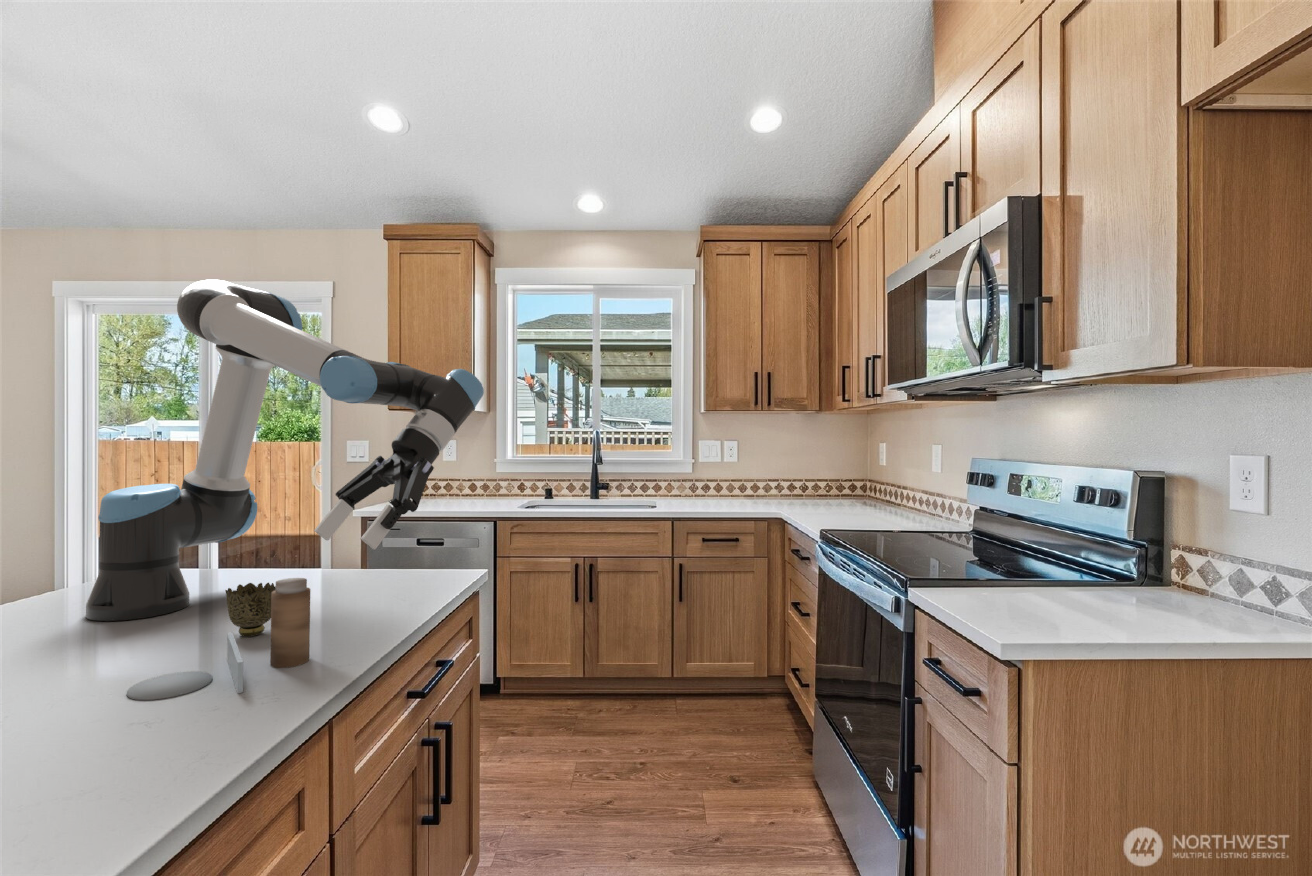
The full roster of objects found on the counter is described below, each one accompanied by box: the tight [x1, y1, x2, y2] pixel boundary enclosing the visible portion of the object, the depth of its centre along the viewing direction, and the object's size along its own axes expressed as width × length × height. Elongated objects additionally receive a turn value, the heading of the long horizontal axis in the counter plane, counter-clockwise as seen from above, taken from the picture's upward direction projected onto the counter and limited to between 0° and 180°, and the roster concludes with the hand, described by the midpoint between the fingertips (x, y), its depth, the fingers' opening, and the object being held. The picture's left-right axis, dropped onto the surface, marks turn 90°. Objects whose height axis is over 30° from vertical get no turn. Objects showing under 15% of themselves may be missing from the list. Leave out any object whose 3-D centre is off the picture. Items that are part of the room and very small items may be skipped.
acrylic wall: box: [226, 632, 244, 694], centre depth 87 cm, size 15×1×4 cm, turn 39°
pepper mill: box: [269, 577, 311, 669], centre depth 93 cm, size 5×5×12 cm
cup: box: [224, 582, 276, 638], centre depth 105 cm, size 8×7×8 cm
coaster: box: [126, 670, 213, 701], centre depth 83 cm, size 9×9×1 cm
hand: (343, 539), depth 99 cm, fingers open, 13 cm apart
